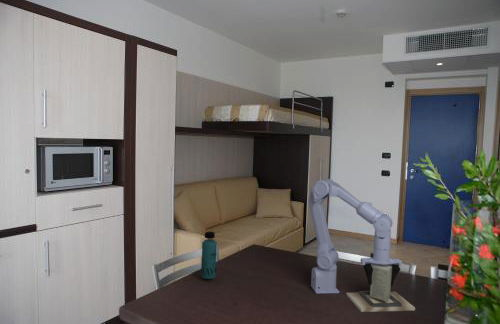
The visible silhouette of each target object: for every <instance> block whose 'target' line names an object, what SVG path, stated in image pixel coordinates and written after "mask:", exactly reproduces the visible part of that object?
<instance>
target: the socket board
mask: <svg viewBox="0 0 500 324" xmlns="http://www.w3.org/2000/svg"><path fill="white" fill-rule="evenodd" d="M346 297H347V298H348V299H349V300H350V301H351V302H352V303H353V305H355V307H356V308H357V309H358V311H360V312H362V313H369V312H370V313H371V312H373V313H374V312H375V313H376V312H403V311H405V312H407V311H410V312H411V311H415V310H416V307H415V306H414V305H413V304H411V303H410V302H409V301H407V300H406V299H405V298H404V297H403V296H401V295H400V294H399V293H398V292H397V291H390V298H389V299H388V300H387V302H386V301H383V300H380V299H377V298H374V297H371V296H370V290H359V291H357V292H346Z"/></svg>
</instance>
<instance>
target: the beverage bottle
mask: <svg viewBox="0 0 500 324" xmlns="http://www.w3.org/2000/svg"><path fill="white" fill-rule="evenodd" d="M204 233H205V234H204V238H205V239H204V240H203V241H202V242H201V264H200V265H201V266H200V270H201V271H200V273H201V274H200V276H201V278H203V279H206V280H207V279H208V280H209V279H215V278H216V276H217V266H218V265H217V255H218V254H217V251H218V250H217V248H218V242H217V241H216V240H215V238H216V236H215V232H214V231H206V232H204Z"/></svg>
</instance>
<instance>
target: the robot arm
mask: <svg viewBox="0 0 500 324" xmlns="http://www.w3.org/2000/svg"><path fill="white" fill-rule="evenodd" d="M328 197H335V198H339V199H341V200H342V201H343V202H345V203H347V204H348V205H349V206H350V207H353V209H355V211H356V214H357V215H358V216H359V217H361V218H362V219H363V220H365V221H366V222H367V223H369V224H370V225H372V227H373V228H374V235H373V252H372V253H373V257H361V258H360V264H361V266H362V267H363V270H364V271H365V275H366V279H367V284H368V285H370V286H371V284H372V273H373V268H372V265H389V266H392V275H391V286H393V285H394V282H395V279H396V278H397V275H398V274H399V272H400V271H401V267H402V266H403V261H402V260H401V259H400V258H391V247H392V246H391V241H392V236H391V235H392V229H391V228H392V227H393V219H392V217H390V215H389V214H387V213H384V211H382V210H381V211H380V210H379V209H377V208H376V207H374V206H373V202H367V201H360V200H359V199H358V198H357V197H355V196H354V195H353V194H352V193H350V192H349V191H348V190H347V189H345V188H344V187H343V186H342V185H340V183H337V182H336V181H334V180H333V179H330V178H324V179H319V180H317V181H316V182H315V183H314V184H313V185H312V186H311V191H310V195H309V197H308V207H309V210H310V215H311V219H312V224H313V229H314V232H315V237H316V241H317V248H316V249H317V250H316V255H317V257H316V263H317V266H316V267H312V269H311V279H310V281H311V282H310V283H311V284H310V287H311V288H312V290H313V291H314V293H315V294H317V295H318V294H340V290H339V289H337V271H338V270H337V269H338V267H337V262H338V261H339V259H340V258H339V257H340V256H339V253H338V251H337V250H336V249H335V245H334V243H333V242H332V240H331V236H330V231H329V227H328V223H327V220H326V214H325V210H324V205H323V203H324V202H325V200H326V199H327V198H328Z"/></svg>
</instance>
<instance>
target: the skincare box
mask: <svg viewBox="0 0 500 324" xmlns="http://www.w3.org/2000/svg"><path fill="white" fill-rule="evenodd" d="M371 266H372V268H373V273H372V284H371V285H370V288H369V291H370V296H371V297H374V298H377V299H380V300H383V301H386V302H387V300H388V299H389V298H390V292H391V275H392V266H389V265H371Z"/></svg>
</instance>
